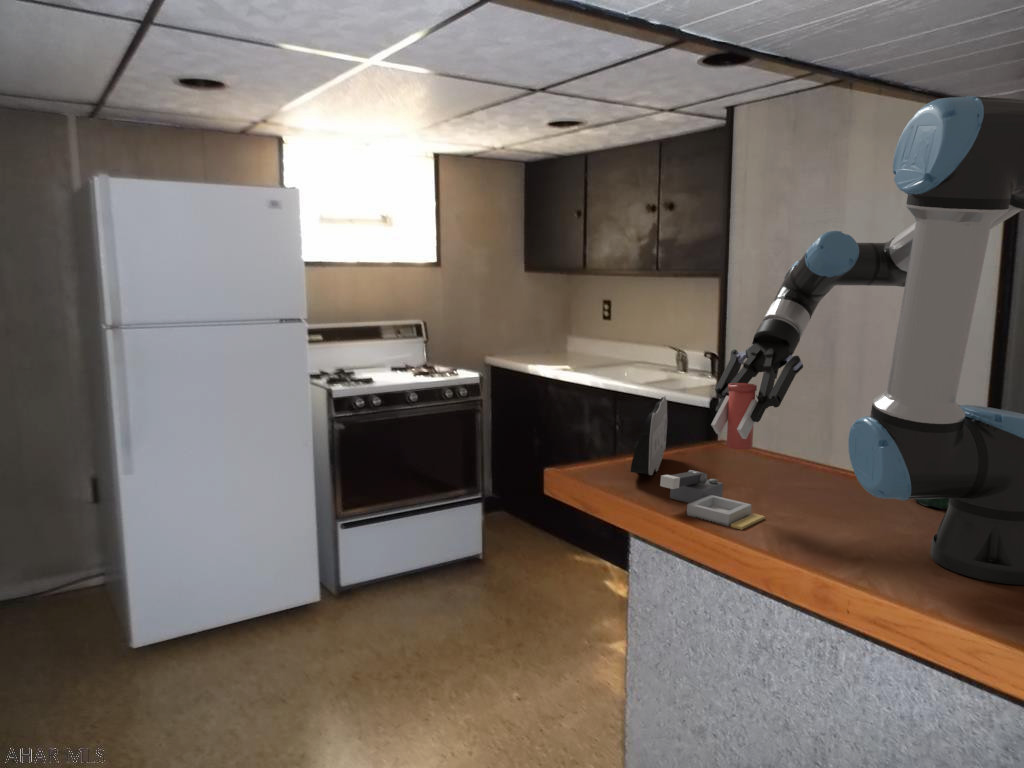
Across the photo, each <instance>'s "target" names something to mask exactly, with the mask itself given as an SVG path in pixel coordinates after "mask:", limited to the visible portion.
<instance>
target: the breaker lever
mask: <svg viewBox="0 0 1024 768" xmlns="http://www.w3.org/2000/svg"><path fill="white" fill-rule="evenodd" d="M707 480H708V474H707V473H706V472H702V471H696V470H693V469H689V470H688V471H685V472H680V473H675V474H663V475H660V483H659V486H660V487H662V488H667V489H669V490H670V489H676V488H679V487H681V486H686V485H691V484H696V483H703V484H705V483H706V481H707Z"/></svg>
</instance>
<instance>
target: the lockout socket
mask: <svg viewBox="0 0 1024 768" xmlns="http://www.w3.org/2000/svg"><path fill="white" fill-rule="evenodd" d="M752 506H753V504H750V503H747V502H743V501H739V500H735V499H730V498H725V497H723V496H722V497H718V496H714V495H709V496H707V497H704V498H702V499H699V500H697V501H694V502H692V503H687V505H686V507H687V508H686V516H688V517H692V518H696V517H697V518H696V519H699V518H700V519H699V520H703V519H704V520H703V521H707V520H708V521H707V522H711V521H712V522H711V523H714V522H715V524H719V525H722V526H726V527H729V526H730V528H733V529H738V530H741V531H742V530H744V529H747V528H748V527H750V526H753V525H755V524H756V523H758V522H760V521H761V522H762V521H763V520H765V515H761V514H758V513H752V508H753V507H752Z"/></svg>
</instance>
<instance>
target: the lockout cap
mask: <svg viewBox="0 0 1024 768" xmlns="http://www.w3.org/2000/svg"><path fill="white" fill-rule="evenodd" d="M757 387H758V385H757V384H754V383H749V382H748V383H730V384H728V390H729V403H728V420H727V423H726V425H727V429H726V447H727V448H730V449H734V450H750V449H753V444H754V443H753V442H754V441H753V440H754V425H755V424H754V425H753V427H752V429H751V431H750V433H749V435H748V437H747V439H742V437H741V436H740V434H739V432H738V430H737V428H738V426H739V424H740V422H741V420H742V418H743V416H744V414H745V412H746V410H747V408H748V407H749V405H750V403H751V401H752V399H754V400H756V391H757V389H758V388H757Z"/></svg>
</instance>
